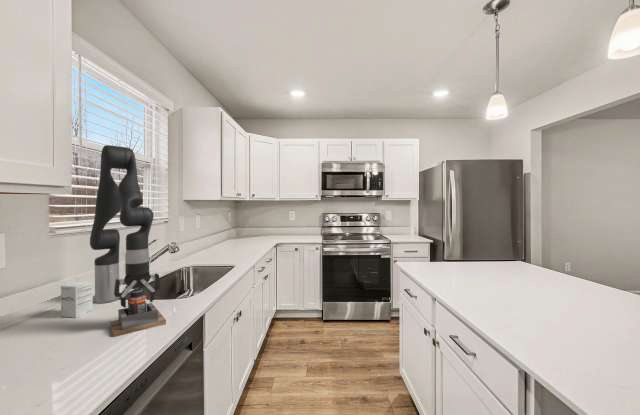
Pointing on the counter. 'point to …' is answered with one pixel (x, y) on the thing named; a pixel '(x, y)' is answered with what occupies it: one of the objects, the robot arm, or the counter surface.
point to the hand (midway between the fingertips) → (138, 304)
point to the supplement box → (76, 299)
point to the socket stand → (136, 321)
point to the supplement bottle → (137, 302)
